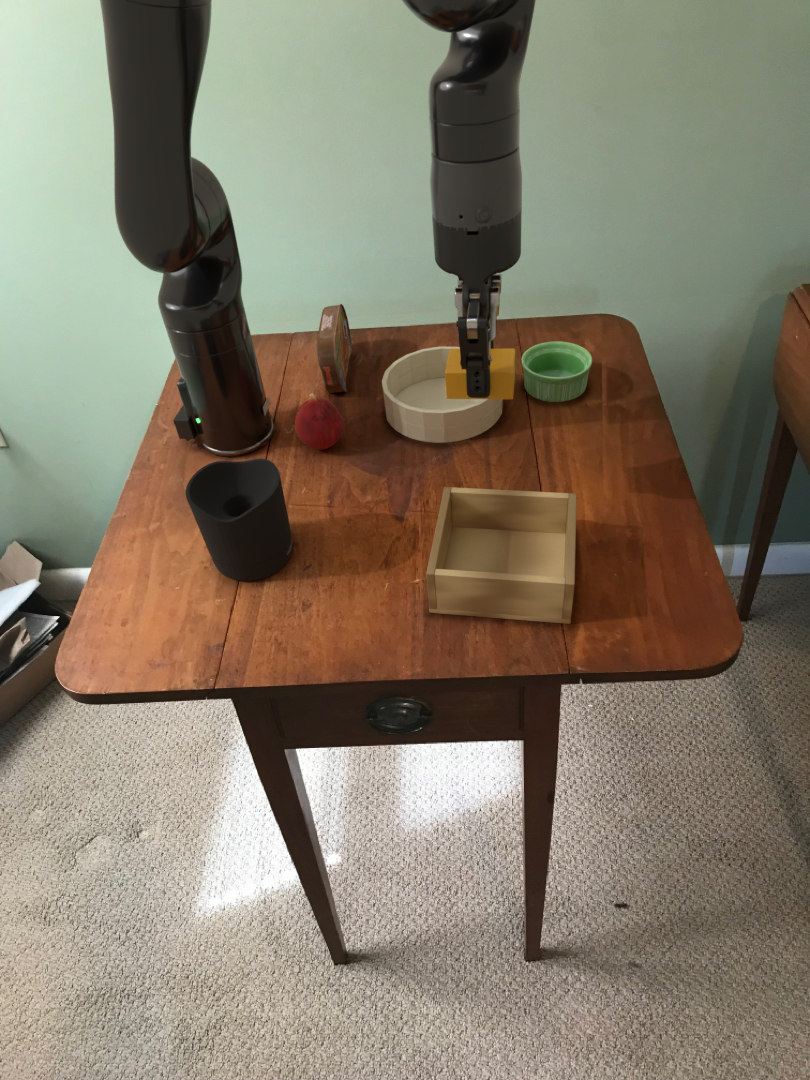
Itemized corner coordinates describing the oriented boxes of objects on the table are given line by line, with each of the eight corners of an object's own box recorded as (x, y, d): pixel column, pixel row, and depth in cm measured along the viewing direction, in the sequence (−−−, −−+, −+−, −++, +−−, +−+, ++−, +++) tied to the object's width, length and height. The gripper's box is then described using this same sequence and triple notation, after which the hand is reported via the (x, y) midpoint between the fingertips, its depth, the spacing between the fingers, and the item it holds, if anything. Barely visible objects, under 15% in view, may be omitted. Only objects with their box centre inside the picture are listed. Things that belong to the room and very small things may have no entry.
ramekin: (569, 363, 106) (572, 335, 103) (602, 397, 99) (605, 367, 96) (509, 379, 104) (510, 350, 101) (538, 414, 98) (540, 384, 95)
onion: (353, 438, 97) (345, 383, 92) (336, 465, 93) (326, 411, 88) (311, 432, 99) (301, 378, 93) (293, 459, 95) (280, 404, 90)
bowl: (375, 443, 96) (371, 410, 93) (397, 377, 107) (393, 345, 103) (497, 448, 93) (497, 414, 90) (507, 380, 104) (507, 347, 101)
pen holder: (250, 599, 79) (226, 528, 72) (193, 560, 83) (166, 490, 77) (315, 547, 83) (299, 476, 77) (258, 513, 88) (238, 443, 81)
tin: (346, 404, 103) (337, 348, 97) (323, 405, 103) (312, 349, 97) (354, 346, 114) (346, 292, 108) (333, 347, 114) (324, 294, 108)
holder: (429, 612, 76) (425, 573, 72) (446, 525, 84) (444, 486, 80) (570, 624, 73) (574, 584, 69) (572, 533, 82) (576, 493, 78)
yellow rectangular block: (446, 399, 76) (444, 372, 73) (451, 374, 79) (449, 348, 77) (513, 399, 74) (513, 372, 72) (515, 374, 78) (515, 348, 76)
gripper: (441, 176, 70) (450, 344, 82) (420, 243, 60) (434, 423, 72) (525, 173, 69) (522, 344, 81) (517, 240, 59) (515, 424, 70)
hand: (480, 380), depth 76 cm, fingers closed on yellow rectangular block, 4 cm apart
